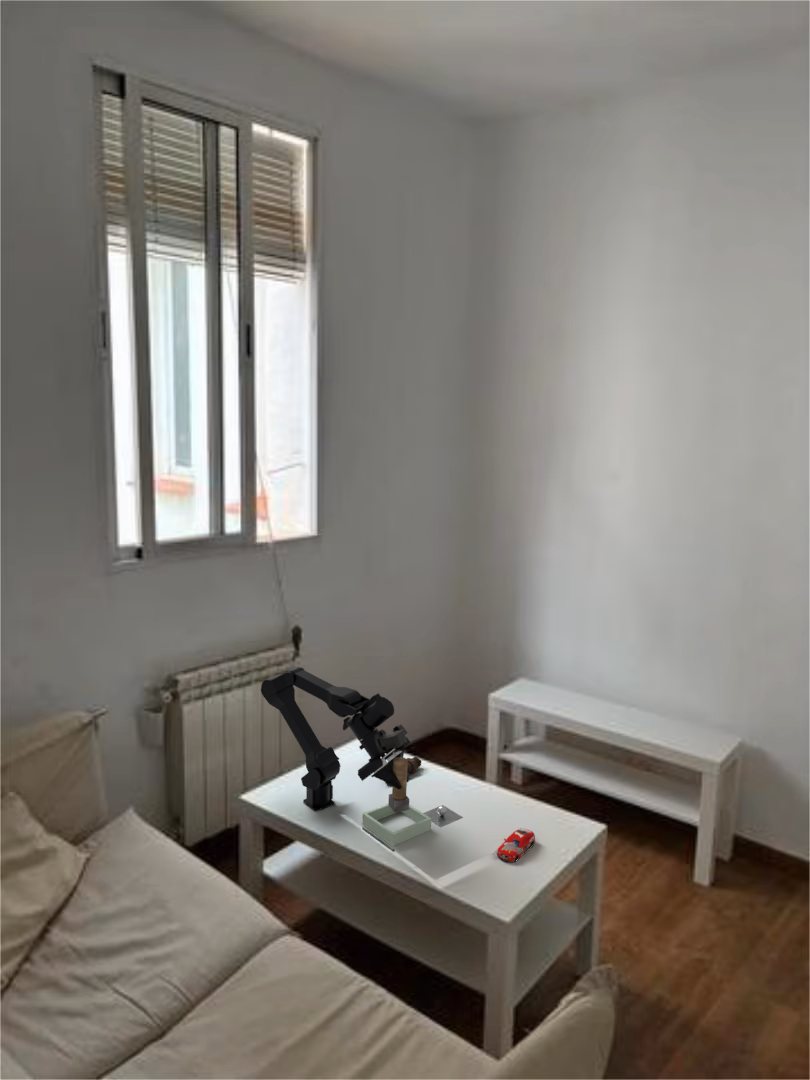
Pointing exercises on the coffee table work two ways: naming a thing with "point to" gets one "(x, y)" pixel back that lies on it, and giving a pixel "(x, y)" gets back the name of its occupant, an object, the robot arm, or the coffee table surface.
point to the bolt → (411, 766)
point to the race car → (516, 845)
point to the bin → (400, 835)
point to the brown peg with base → (398, 796)
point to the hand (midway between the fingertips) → (404, 785)
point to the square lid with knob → (442, 816)
